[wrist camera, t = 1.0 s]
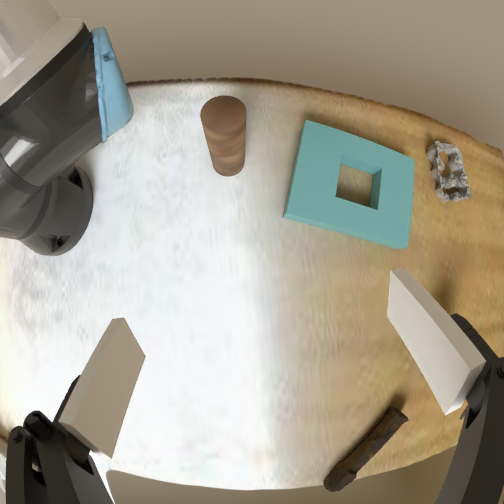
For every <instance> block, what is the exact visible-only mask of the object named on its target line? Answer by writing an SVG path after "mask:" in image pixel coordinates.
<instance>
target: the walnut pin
mask: <svg viewBox="0 0 504 504" xmlns="http://www.w3.org/2000/svg"><path fill="white" fill-rule="evenodd" d="M200 117H201V121H202V125H203V129H204V133H205V137H206V140H207V144H208V148H209V152H210V156H211V160H212V163H213V167H214V169H215V170H216V172H217V173H219V174H220V175H223V176H233V175H236V174H238V173H239V172H240V171H241V170H242V168H243V166H244V157H245V131H246V108H245V106H244V104H243V103H242V102H241V101H240V100H239V99H237V98H235V97H232V96H217V97H214V98H212V99H210V100H209V101H207V102H206V103H205V104H204V106H203V107H202V109H201V114H200Z"/></svg>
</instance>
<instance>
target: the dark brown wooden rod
mask: <svg viewBox="0 0 504 504" xmlns="http://www.w3.org/2000/svg"><path fill="white" fill-rule="evenodd" d="M406 421H408V418H407V417H406V416H405V415H404V414H403V413H402V412H401V411H399V410H397V409H396V408H392V407H390V408H389V412H388V413H386V414H384V419H383V420H382V421H381V422H380V424H379V425H378V426H377V427H376V428H375V430H374V431H373V432H372V433H371V434H370V435H369V436H368V437H367V438H366V439H365V440H364V442H363V443H362V444H361V445H360V446H359V447H358V448H357V449H356V450H355V451H354V452H353V453H352V454H351V455H350V456H349V457H348V458H347V459H346V460H345V461H341V462H339V463H338V464H337V465H336V466H335V467H334V468H333V469H332V471H331V472H330V473H329V475H328V476H327V477H326V479H325V480H324V482H323V484H324V487H325V488H326V489H327V490H329V491H331V492H334V491H340V490H341V489H343V488H344V487H345V486H346V485H348V484H349V483H350V482H352V481H353V480H354V479H355V478H356V473H357V472H358V471H359V470H360V469H361V468H362V467H363V466H364V465H365V464H366V463H367V462H368V461H369V460H370V459H371V458H372V457H373V456H374V455H375V454H376V453H377V452H378V451H379V450H380V449H381V448H382V446H383V445H384V444H385V443H386V442H387V441H388V440H389V439H390V438H391V437H392V436H393V434H394V433H395V432H396V431H397V430H398V429H399V428H400V427H401V425H402V424H403V423H405V422H406Z"/></svg>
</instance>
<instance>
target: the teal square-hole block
mask: <svg viewBox="0 0 504 504" xmlns="http://www.w3.org/2000/svg"><path fill="white" fill-rule="evenodd" d="M340 164H343V165H346V166H349V167H352V168H355V169H358V170H361V171H364V172H367V173H370V174H372V175H373V182H372V191H371V199H370V207H366V206H363V205H360V204H357V203H354V202H351V201H348V200H344V199H341V198H338V197H335V196H336V190H337V184H338V177H339V170H340ZM413 187H414V159H412V158H410V157H407V156H405V155H403V154H401V153H398V152H396V151H394V150H391V149H389V148H387V147H384V146H382V145H379V144H377V143H374V142H372V141H369V140H366V139H364V138H361V137H358V136H356V135H353V134H350V133H347V132H344V131H341V130H338V129H335V128H332V127H329V126H326V125H322V124H319V123H316V122H312V121H309V120H305V122H304V125H303V127H302V129H301V134H300V139H299V144H298V149H297V154H296V159H295V163H294V168H293V173H292V178H291V182H290V187H289V192H288V196H287V201H286V206H285V210H284V215H283V218H287V219H291V220H295V221H299V222H302V223H306V224H310V225H314V226H318V227H321V228H325V229H329V230H332V231H336V232H340V233H343V234H347V235H350V236H354V237H357V238H361V239H364V240H368V241H371V242H375V243H378V244H381V245H385V246H388V247H391V248H395V249H402V248H408V240H409V232H410V224H411V214H412V202H413Z"/></svg>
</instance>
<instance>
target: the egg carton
mask: <svg viewBox="0 0 504 504" xmlns="http://www.w3.org/2000/svg"><path fill="white" fill-rule="evenodd" d="M434 141H435V143H434V144H433V145H431V146H429V147H428V152H427V153H426V158H427V159H429V160H430V161H431V163H432V165H433V169H432V171H430V172H431V174H432V177H433V178H435V179H436V181H437V183H438V187H437V189H436V190H435V192H436V195H437V196H439V197H440V198H441V200H442V202H446V201H449V200H454V201H459V200H462V199H468V198H471V197H472V195H471V192H470V190H469V187H468V182H467V180H466V179H467V175H466V173H465V168H464V165H463V162H462V155H461V152H460V151H459V149H458V148H457V147H456V146H455V145H452V144H446V143H440V142H439V141H437V140H434ZM442 151H444V152H445V153H446V154H448V155H449V157H450V160H449V161H448V166H449V168H450V170H451V171H453V172H454V174H453V173H450V174H448V175H446V176H444V177H442V176H441V174H439V170H440V171H444V170H445V164H444V162H443V161H442V160H441V158H440V156H439V153H440V152H442ZM443 187H444V188H445V189H450V188H452V187H455V188H456V189H458V190H459V193H458V192H455V193H452V194H450V195H447V193H443Z"/></svg>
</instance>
